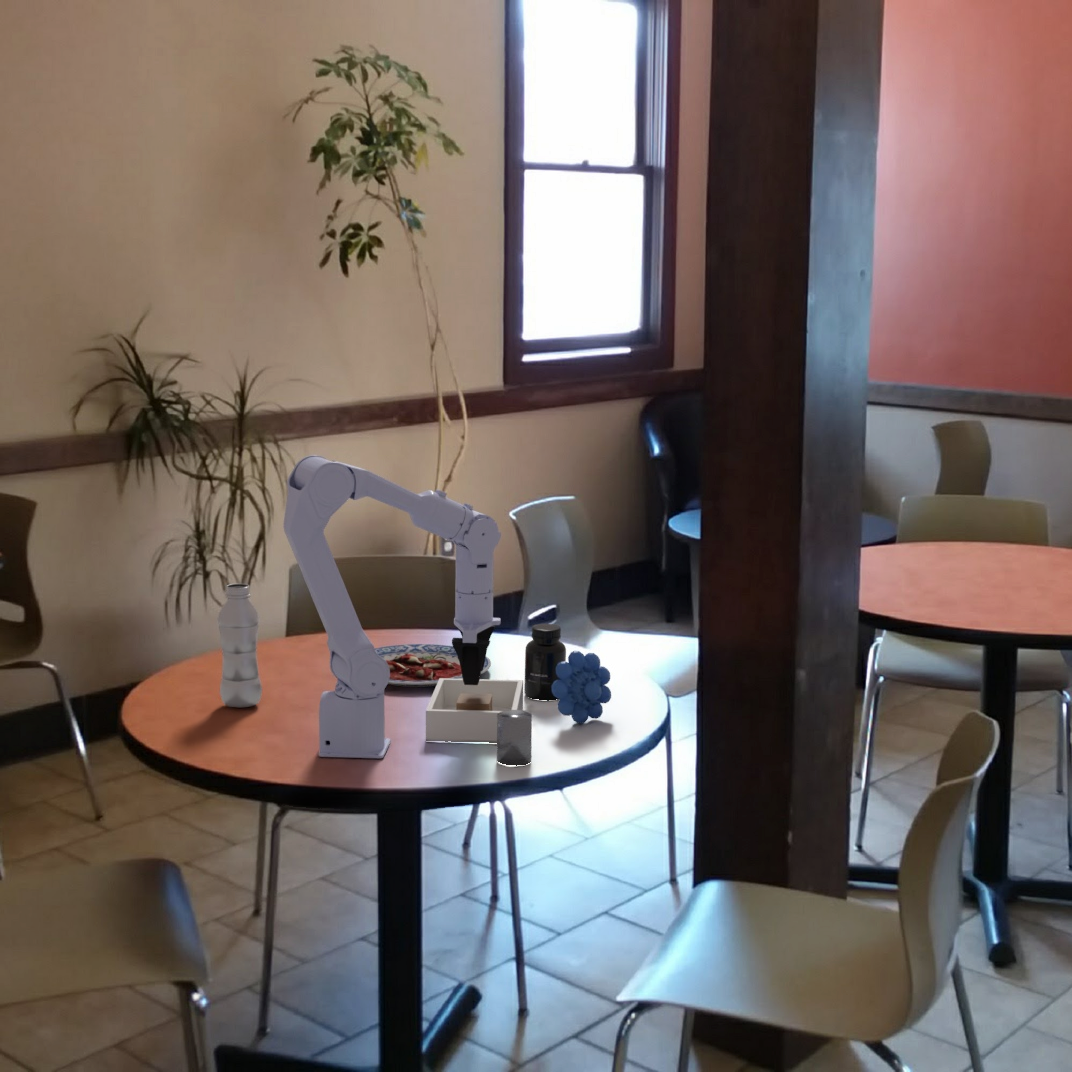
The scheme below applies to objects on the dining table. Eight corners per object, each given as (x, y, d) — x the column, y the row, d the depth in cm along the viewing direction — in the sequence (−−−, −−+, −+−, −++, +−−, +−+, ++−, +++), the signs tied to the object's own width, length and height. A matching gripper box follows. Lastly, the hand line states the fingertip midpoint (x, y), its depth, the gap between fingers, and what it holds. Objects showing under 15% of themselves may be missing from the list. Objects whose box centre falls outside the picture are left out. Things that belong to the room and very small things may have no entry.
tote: (425, 742, 213) (425, 710, 212) (439, 707, 230) (439, 678, 229) (515, 745, 212) (516, 713, 211) (522, 710, 229) (523, 680, 228)
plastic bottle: (253, 713, 226) (249, 591, 222) (213, 710, 227) (209, 589, 224) (268, 701, 232) (265, 582, 229) (229, 698, 233) (226, 580, 230)
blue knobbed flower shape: (569, 737, 216) (570, 661, 214) (542, 726, 221) (543, 651, 219) (627, 723, 223) (628, 649, 221) (599, 713, 228) (601, 641, 226)
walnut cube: (456, 734, 215) (456, 703, 214) (460, 724, 219) (460, 693, 219) (489, 735, 214) (489, 704, 213) (492, 725, 219) (492, 694, 218)
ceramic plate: (434, 704, 233) (434, 686, 232) (314, 679, 246) (314, 663, 245) (518, 669, 254) (518, 653, 254) (404, 648, 268) (403, 633, 267)
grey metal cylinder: (495, 766, 203) (495, 719, 201) (498, 755, 207) (498, 709, 206) (530, 767, 202) (530, 720, 201) (532, 756, 207) (532, 710, 206)
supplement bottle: (530, 703, 233) (531, 632, 231) (519, 691, 240) (520, 622, 237) (570, 700, 235) (571, 630, 233) (558, 689, 241) (559, 620, 239)
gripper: (497, 601, 206) (496, 691, 208) (504, 581, 220) (503, 665, 222) (448, 600, 206) (448, 690, 208) (459, 579, 220) (458, 664, 223)
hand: (473, 677), depth 215 cm, fingers open, 7 cm apart
